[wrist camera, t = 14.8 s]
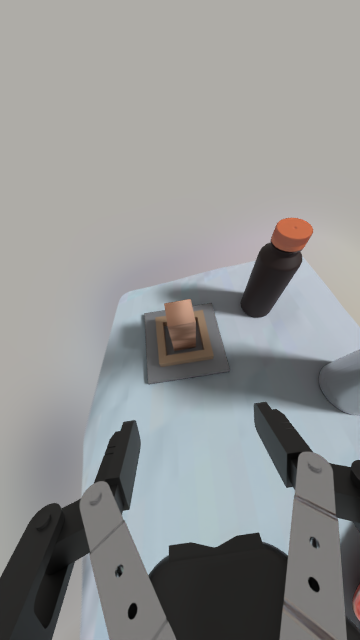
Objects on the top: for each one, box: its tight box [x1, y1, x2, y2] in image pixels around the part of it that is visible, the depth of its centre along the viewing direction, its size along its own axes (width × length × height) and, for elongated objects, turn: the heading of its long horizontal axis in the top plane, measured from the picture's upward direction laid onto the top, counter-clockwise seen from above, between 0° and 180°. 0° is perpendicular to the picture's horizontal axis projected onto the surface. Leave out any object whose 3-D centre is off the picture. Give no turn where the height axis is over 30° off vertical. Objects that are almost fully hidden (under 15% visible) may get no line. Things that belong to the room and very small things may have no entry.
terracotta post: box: [164, 299, 196, 351], centre depth 35 cm, size 4×4×11 cm
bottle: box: [241, 218, 313, 317], centre depth 35 cm, size 7×7×20 cm
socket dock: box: [144, 303, 230, 384], centre depth 40 cm, size 16×16×3 cm
